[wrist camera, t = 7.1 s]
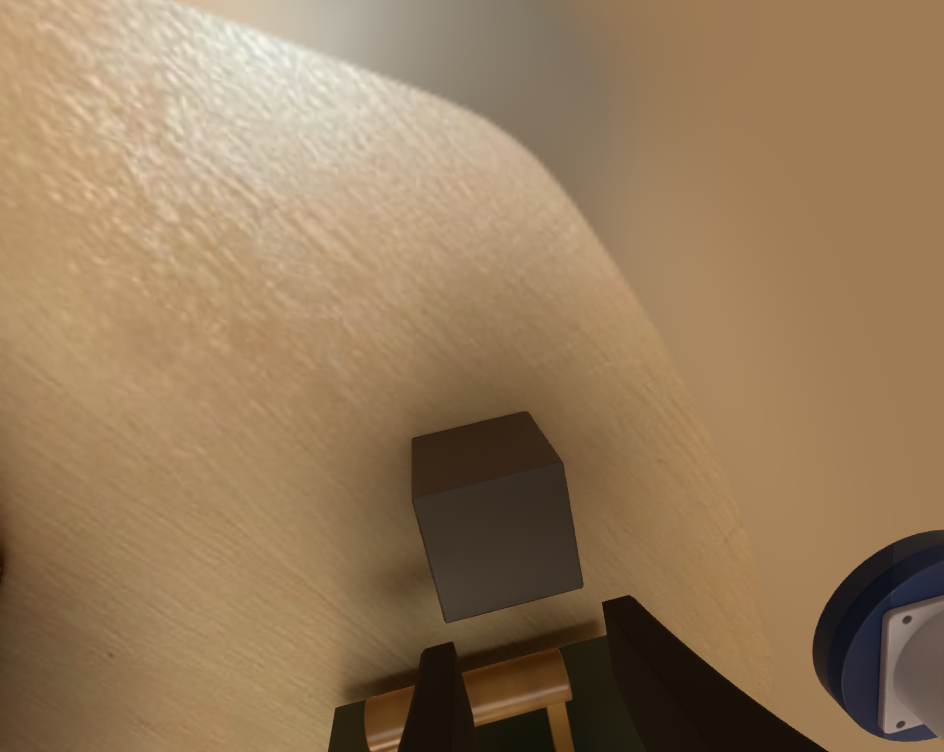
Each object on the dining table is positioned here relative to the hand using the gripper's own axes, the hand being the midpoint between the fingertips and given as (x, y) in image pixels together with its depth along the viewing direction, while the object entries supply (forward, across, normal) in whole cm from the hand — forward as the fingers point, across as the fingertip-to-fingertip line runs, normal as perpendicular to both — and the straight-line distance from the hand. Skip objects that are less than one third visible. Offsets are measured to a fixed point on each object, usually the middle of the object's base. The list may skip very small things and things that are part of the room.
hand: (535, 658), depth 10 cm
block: (+8, 0, 0) cm, 8 cm away
